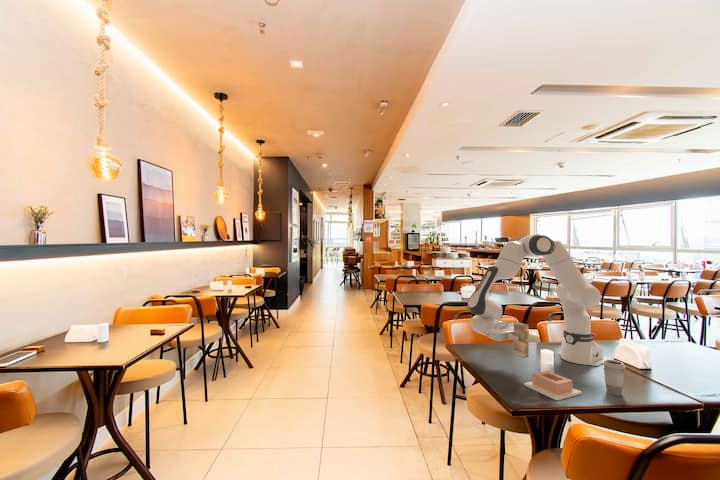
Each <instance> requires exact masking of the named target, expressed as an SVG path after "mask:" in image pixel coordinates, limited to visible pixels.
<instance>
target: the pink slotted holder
mask: <svg viewBox="0 0 720 480" xmlns="http://www.w3.org/2000/svg"><path fill="white" fill-rule="evenodd" d="M523 384H524V386H525V387H527V388H529V389H531V390H533V391H536V392H537V393H540V394H542V395H544V396H545V397H548V398H551V399H552V400H555V401H561V400H564V399H567V398H573V397H576V396H581V395H582V394H583V393H582V391H581V390H579V389H577V388H573V379H570V378H567V377H564V376H561V375H560V374H557V373H555V372H552V371H549V370H545V371H539V372H534V373H532V381H528V382H524V383H523Z"/></svg>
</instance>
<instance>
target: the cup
mask: <svg viewBox="0 0 720 480" xmlns="http://www.w3.org/2000/svg"><path fill="white" fill-rule="evenodd" d="M601 365H603V374H604V383H605V388H606V389H605V390H606V393H608V394H609V395H611V396H612V395H613V396H616V397H619V396H620V397H621V396H622V394H623V386H624V380H625V378H624V377H625V371H624V370H625V369H626V365H624V362H622V361H618V360H615V359H609V360H604V362H603V363H602V364H601Z"/></svg>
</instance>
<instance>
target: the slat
mask: <svg viewBox="0 0 720 480" xmlns="http://www.w3.org/2000/svg"><path fill="white" fill-rule="evenodd" d="M513 323H514V335H517V336H520V340H513V355H515V356H517V357H520V358H522V359H525V358H529V337H528V330H529V324H526V323H522V322H519V321H517V322H513Z"/></svg>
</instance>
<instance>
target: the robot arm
mask: <svg viewBox="0 0 720 480" xmlns="http://www.w3.org/2000/svg"><path fill="white" fill-rule="evenodd" d="M538 256H539V257H543V258H544V260H545V262H546V265H547V266H548V269H550V271H551V273H552V275H553V277H554V278H555V280H557V281H558V282H559V283H558V284H557V285H556V289H555V294H556V296H557V297H558V299H559V301H560V304H561V307H562V311H563V320H564V325H563V327H564V328H563V332H562V333H563V335H562V336H563V339H561V348H560V351H559V353H558V354H559V356H560V358H561V359H562V360H564V361H566V362H570V363H573V364H579V365H585V366H587V365H588V366H594V367H598V366H600V365H603V364H602V363H603V362H604V360H610V359H609V357H606V356H604V355H603V353H604V352H603V348H602V347H601V346H600V345H599V344H598V343H596V342H595V341H594V338H596V337H597V333H594V332H592V331H591V324H592V322H591V321H592V320H591V316H590V315H589V313H588V312H587V309H586V307H587V308H588V307H595V306H597V305H598V304H600V302H601V299H602V294H601V291H600V290H599V289H598V288H597V287H595V286H594V285H593V284H592V283H591V282H590V281H589V280H588V279H587V278H586V276H584V274H583V273H582V272H581V271H580V269H578V267H577V265H576V263H575V262H574V260H573V258H572V256H571V254H570V253H569V251H568V249H567V248H566V246H564V244H563V243H562V242H561V240H559V239H557V238H550V237H549V236H548V235H545V234H541V233H538V234H528V235H524V236H521V237H519V238H518V239H517V240H516V241H515V240H509V241H507V242H506V243H505V244H504V245H503V247H502V249H501V251H500V253H499V255H498V257H497V259H496V262H495V263H494V264H493V265H492V266H489V267H488V268H487V270H486V271H485V273H484V275H483V276H482V278H481V279H480V282H479V283H478V285H477V286H476V289H475V290H474V292H473V293H472V294H471V295H470V297H469V298H468V300H467V308H468V311H469V312H470V313H471V314H472V315H473V316H472V317H471V318H470V321H469V322H470V327H471V328H472V330H473V331H475V333H477V334H480V335H483V336H487V338H489V339H491V340H493V341H496V342H501V341H502V342H503V341H508V340H512V341H514V340H520V336H517V335H514V323H515V322H511V321H502V320H501V318H502V317H503V313H504V311H503V307H502V306H503V305H502V304H501V303H500V302H498V301H497V300H496V301H495V300H493V299H490V298H489V297H487V296H488V293H489V292H490V290H491V288H492V287H493V285H494V283H496V281H499V280H510V279H512V278H514V277H516V276H517V274H518V273H519V271H520V268H521V265H522V263H523V260H524V258H525V257H538ZM529 337H530V330H529V329H528V338H529Z"/></svg>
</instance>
